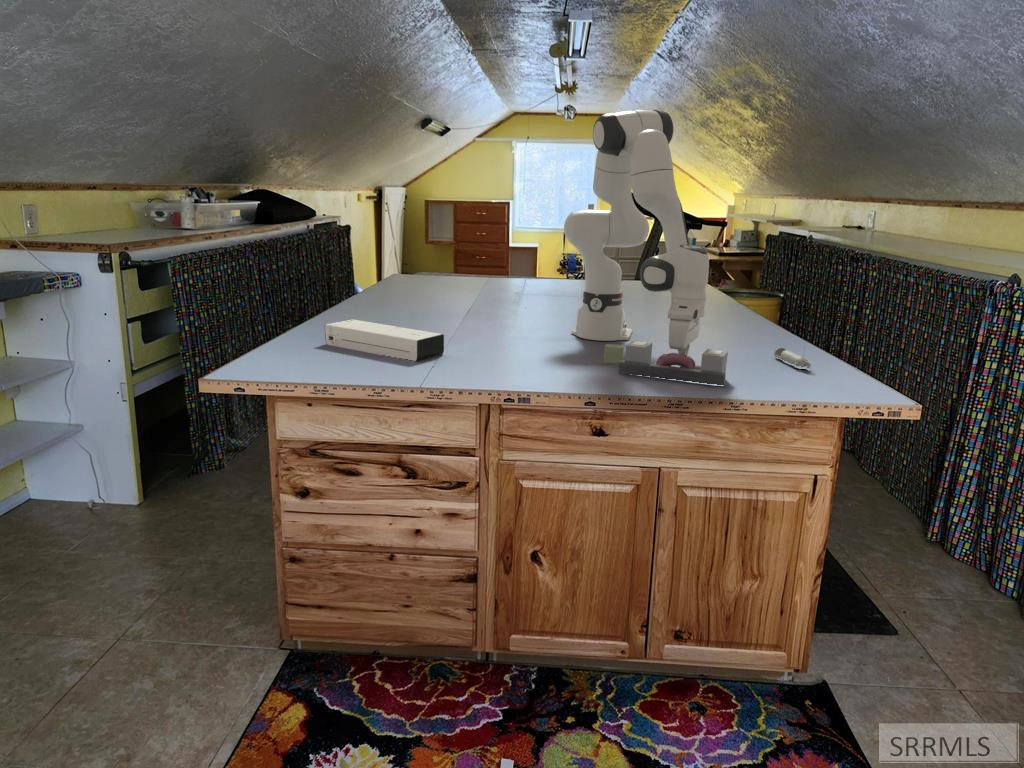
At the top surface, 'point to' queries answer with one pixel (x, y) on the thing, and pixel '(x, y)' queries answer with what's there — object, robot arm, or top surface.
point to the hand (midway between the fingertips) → (682, 360)
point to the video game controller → (676, 360)
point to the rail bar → (671, 372)
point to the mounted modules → (710, 361)
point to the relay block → (613, 353)
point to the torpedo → (792, 357)
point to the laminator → (384, 339)
